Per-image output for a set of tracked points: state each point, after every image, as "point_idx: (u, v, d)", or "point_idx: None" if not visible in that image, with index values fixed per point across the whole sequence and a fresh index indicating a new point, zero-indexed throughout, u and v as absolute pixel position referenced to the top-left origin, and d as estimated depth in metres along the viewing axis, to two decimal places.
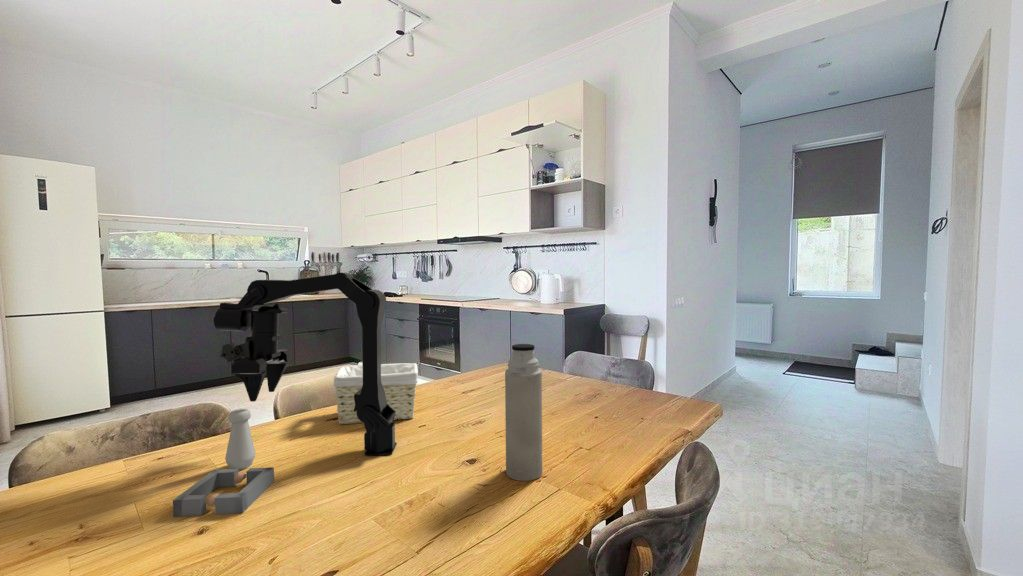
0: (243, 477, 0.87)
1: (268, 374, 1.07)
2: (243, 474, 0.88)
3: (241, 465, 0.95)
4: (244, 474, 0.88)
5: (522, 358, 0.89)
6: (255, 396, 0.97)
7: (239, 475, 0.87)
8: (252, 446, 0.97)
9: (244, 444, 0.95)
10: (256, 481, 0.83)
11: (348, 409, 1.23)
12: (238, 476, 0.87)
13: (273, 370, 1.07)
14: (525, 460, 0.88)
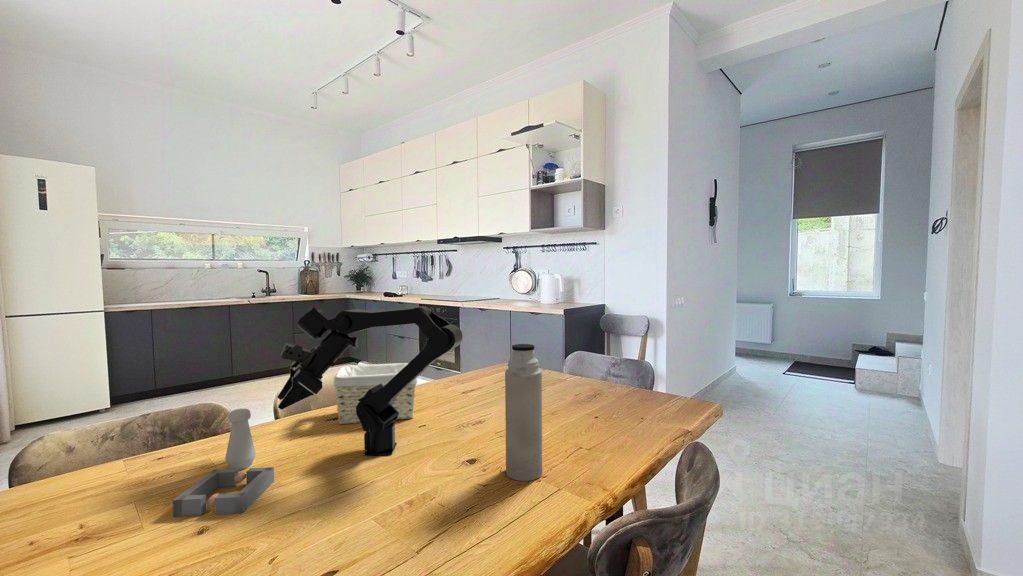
0: (243, 477, 0.87)
1: (289, 382, 1.05)
2: (243, 474, 0.88)
3: (241, 465, 0.95)
4: (244, 474, 0.88)
5: (522, 358, 0.89)
6: (286, 406, 0.96)
7: (239, 475, 0.87)
8: (252, 446, 0.97)
9: (244, 444, 0.95)
10: (256, 481, 0.83)
11: (348, 408, 1.23)
12: (238, 476, 0.87)
13: None
14: (525, 460, 0.88)
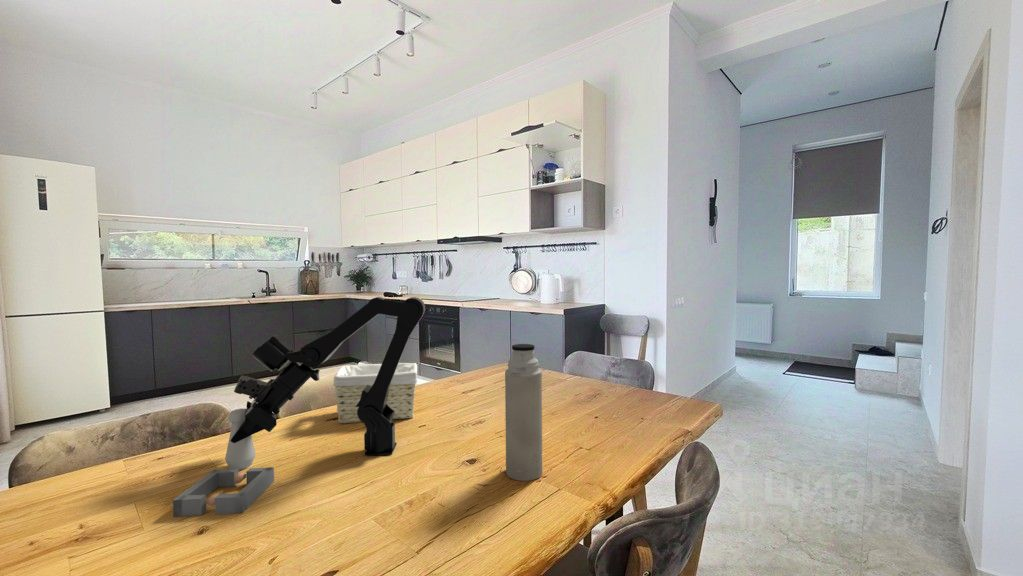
0: (243, 477, 0.87)
1: None
2: (243, 474, 0.88)
3: (241, 465, 0.95)
4: (244, 474, 0.88)
5: (522, 358, 0.89)
6: (239, 439, 0.94)
7: (239, 475, 0.87)
8: (252, 446, 0.97)
9: (244, 444, 0.95)
10: (256, 481, 0.83)
11: (348, 408, 1.23)
12: (238, 476, 0.87)
13: None
14: (525, 460, 0.88)
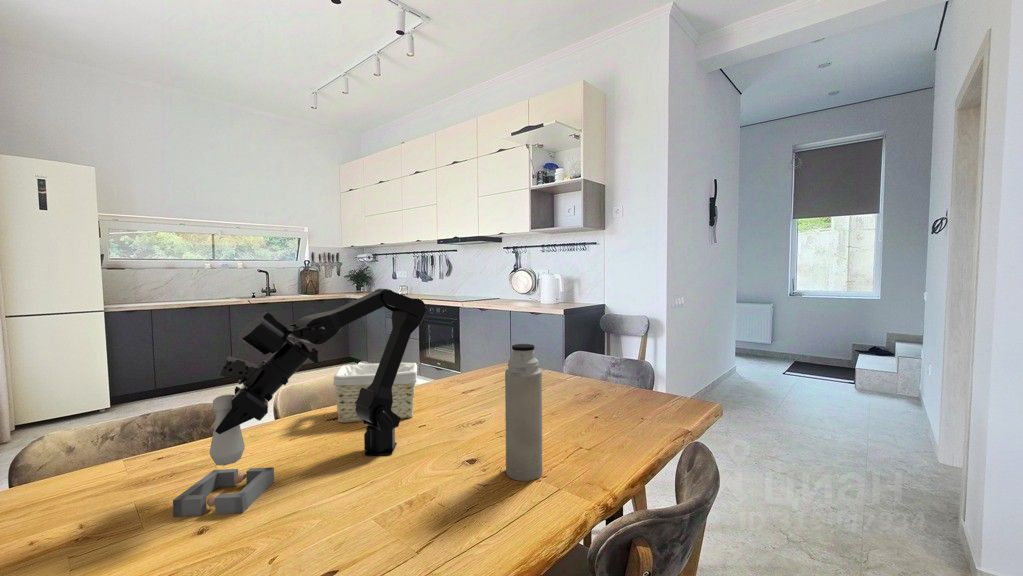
0: (243, 477, 0.87)
1: None
2: (243, 474, 0.88)
3: (228, 459, 0.82)
4: (244, 474, 0.88)
5: (522, 358, 0.89)
6: (225, 430, 0.81)
7: (239, 475, 0.87)
8: (241, 438, 0.84)
9: (230, 435, 0.82)
10: (256, 481, 0.83)
11: (348, 407, 1.24)
12: (238, 476, 0.87)
13: None
14: (525, 460, 0.88)
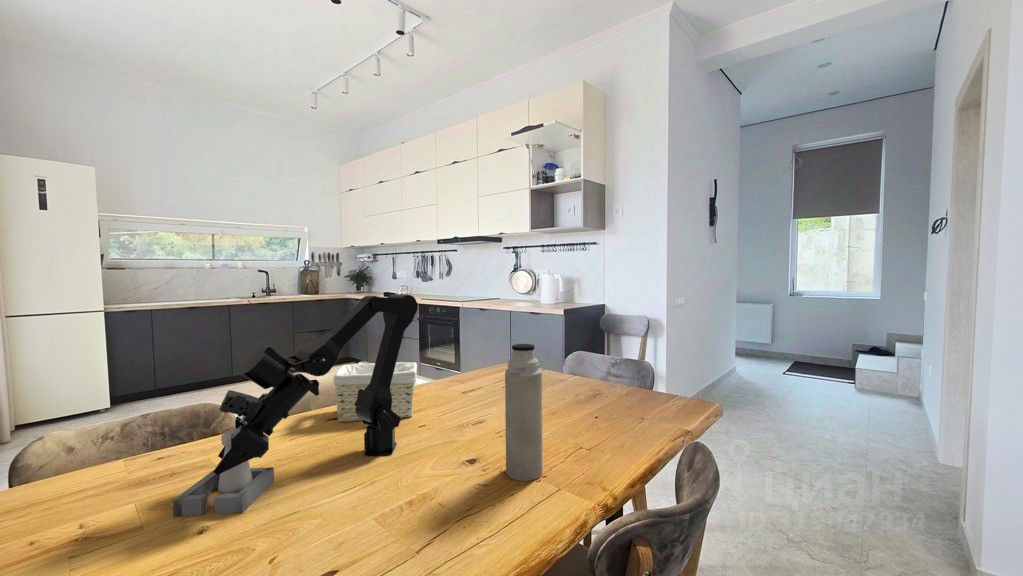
0: None
1: None
2: None
3: None
4: None
5: (522, 358, 0.89)
6: (224, 470, 0.79)
7: None
8: (249, 472, 0.84)
9: (238, 470, 0.82)
10: (256, 481, 0.83)
11: (348, 406, 1.25)
12: None
13: None
14: (525, 460, 0.88)
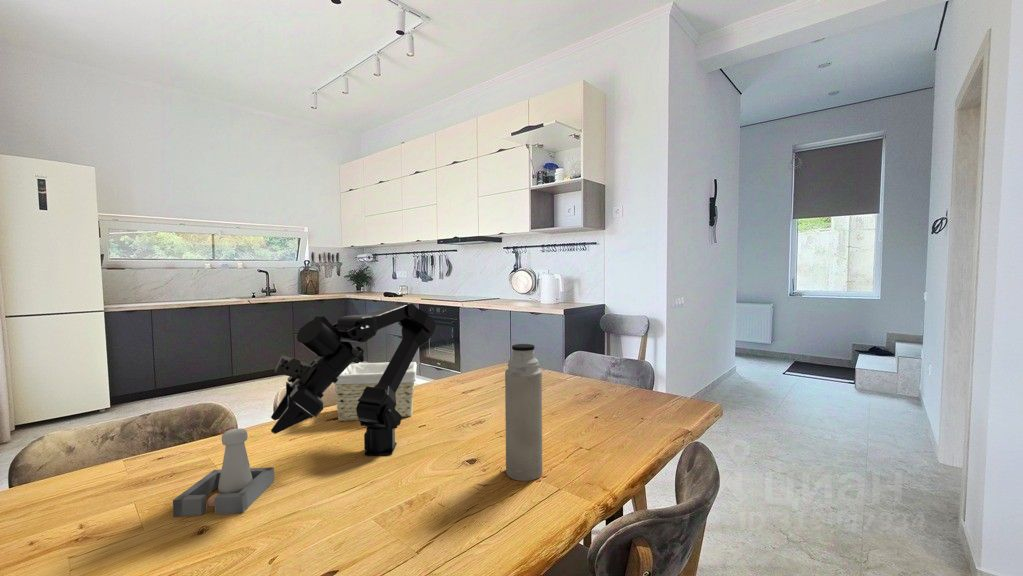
0: None
1: (285, 399, 0.92)
2: None
3: None
4: None
5: (522, 358, 0.89)
6: (280, 430, 0.83)
7: None
8: (249, 472, 0.84)
9: (238, 470, 0.82)
10: (256, 481, 0.83)
11: (347, 406, 1.25)
12: None
13: None
14: (525, 460, 0.88)
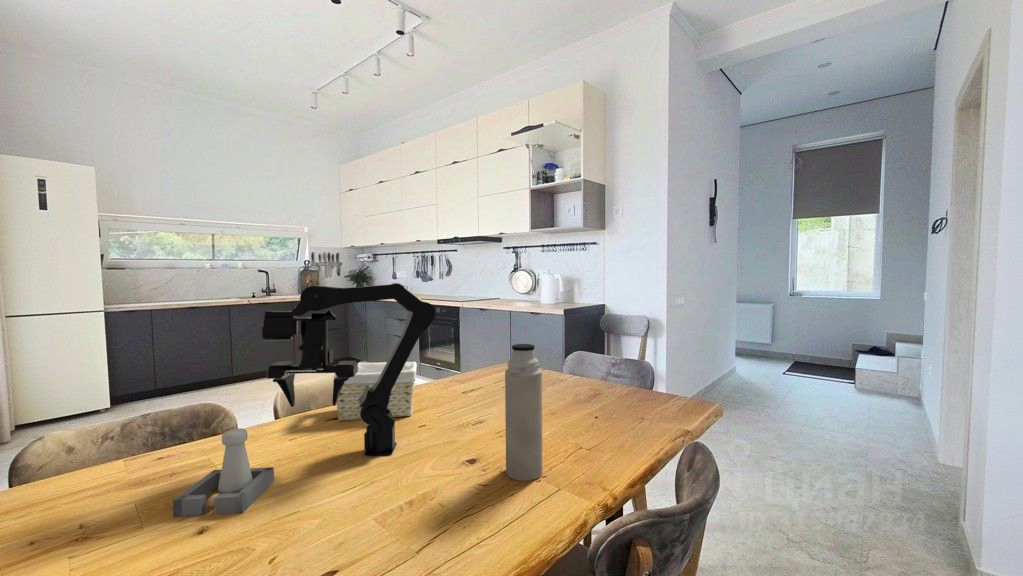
0: None
1: None
2: None
3: None
4: None
5: (522, 358, 0.89)
6: None
7: None
8: (249, 472, 0.84)
9: (238, 470, 0.82)
10: (256, 481, 0.83)
11: (347, 405, 1.26)
12: None
13: None
14: (525, 460, 0.88)
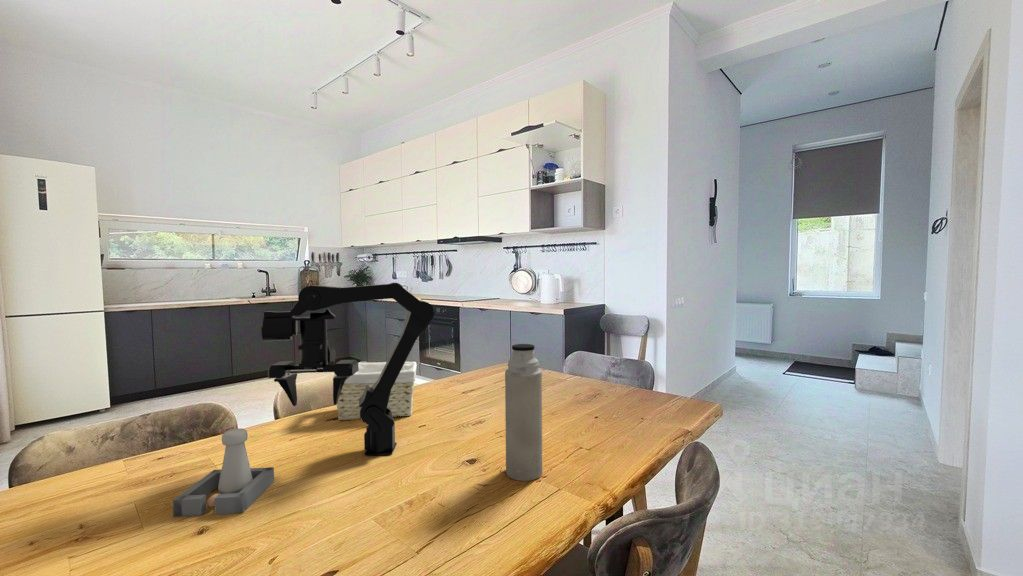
0: None
1: None
2: None
3: None
4: None
5: (522, 358, 0.89)
6: None
7: None
8: (249, 472, 0.84)
9: (238, 470, 0.82)
10: (256, 481, 0.83)
11: (347, 405, 1.26)
12: None
13: None
14: (525, 460, 0.88)
